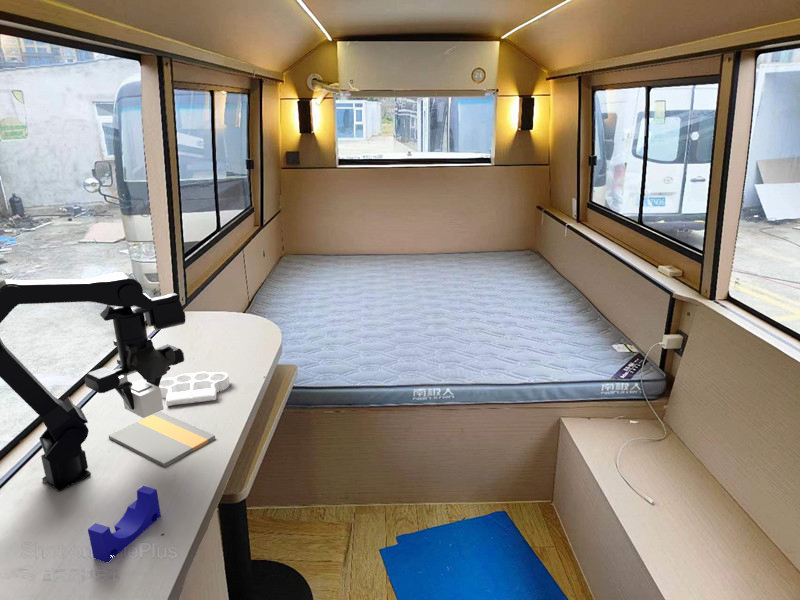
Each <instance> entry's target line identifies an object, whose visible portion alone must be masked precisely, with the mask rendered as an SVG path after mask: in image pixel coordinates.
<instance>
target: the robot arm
mask: <svg viewBox="0 0 800 600" xmlns="http://www.w3.org/2000/svg"><path fill="white" fill-rule="evenodd" d="M85 302H86V303H88V302H89V303H98V304H102V305H106V307H105V309H103V311H101V312H100V314H99V316H100V317H101V318H102V320H104V321H107V322H108V321H112V323H113V328H114V333H115V334H114V335H115V339H114V340H112V341H113V346H116V347H117V352H118V357H119V358H116V363H117V365H119V366H120V367H119V368H117V369H113V370H111V369H109V368H107V367H100V368H98V369H95V370H92V371H90V372H87V373H86V375H85V377H84V382H85V387H86V388H89V389H90V390H93V391H95V392H96V393H98V394H105V393H107V392H110V391H113V390H116V392H117V393H118V395H120V397H121V398H122V400H124V401H125V402H126V404H127V405H128V406H129V408H130V409H132V410H133V409H134V401H133V396H132V392H131V387H132V384H133V382H131V381H129V380H128V376H129V375H132V374H134V373H135V374H136V373H138V375H140V376H141V377H142V378H143V380H144V381H146V382H148V383H151V384H153V385H155V386H157V387H159V384H160V381H161V379H163V376H165V375H167V373H168V371H170V370H171V367H172V366H175V365H178V364H181V363H183V362H185V355H184V352H183V350H182V349H181V348H179V347H177V346H173V345H170V344H165V345H162V346H159V347H157V348H155V346H154V343H153V341H152V338H149V337H148V331H147V326H148V327H153V329H154V330H155V331H160V330H163V329H165V330H166V329H168V328H173V327H178V326H182V325H184V324H186V313H185V310H184V308H183V305H182V303H181V301H180V296H179V294H177V293H176V292H172V293H168V294H166V295H161V296H154V297H150V296H149V295H148V294H147V293H145V292H144V288H143V286H142V284H141V283H140V282H139V281H138V280H137V279H135V278H134V277H133V276H132V275H130V274H129V273H127V272H122V271H121V272H120V271H118V272H112V273H107V274H101V275H98V276H94V277H91V278H85V279H84V278H83V279H44V280H43V279H35V280H34V279H32V280H31V279H29V280H28V279H26V280H25V279H24V280H23V279H22V280H18V279H17V280H16V279H12V278H8V279H3V280H2V281H0V324H1V323H2V322H3V321H4V320H5V318H7V316H8V315H9V314H10V313H11V312H12V311H13V310H14V309H15V308H17V306H19V305H32V304H33V305H34V304H37V305H38V304H56V303H57V304H58V303H59V304H63V303H85ZM146 324H147V326H146ZM0 379H2V380H3V382H4V383H6V384H7V385H8V386H9V387H10V388H11V389H12V391H14V392H15V393H16V394H17V395H18V396H19V398H21V399H22V400H23V401H24V402H25V403H26V404H27V405H28V406H29V407H30V408H31V409H32V410H33V411H34V412H35V413H36V414H37V415H38V416H39V418H40V419H41V421H42V422H43V424H44V426H45V427H46V429H45V430H44V432H43V433H42V434H41V436H40V437H39V442H40V444H41V448H42V450H43V452H44V454H41V456H40V457H41V462H42V466H43V470H44V475H45V476H44V477H42V478H41V479H42V481H43V482H44V483H46V484H47V485H48V486H50V487H52V488H53V489H55V490H56V491H58V492H60V491H62V490H65V489H67V488H68V487H70V486H72V485H74V484H76V483H78V482H80V481H82V480H83V479H86V478H88V477H90V476H91V475H92V473H91V471H90V470H88V469H89V464H88V461H87V455H86V451H85V450H83V448H82V444H83V443H84V442H85V441H86V440H87V438H88V435H89V432H90V431H89V427H88V426H87V424H88V423H89V421H88V419H87V417H86V415H85V414H84V412H83V410H82V408H80V407H78V406H76V405H75V404H74V402H73V401H72V399H71V398H70V396H68V397H66V398H65V399H64V400H61V399H59V398H57V397H56V396H54V395H53V394H52V393H51V392H50V391H49V389H48V388H46V386H44V385H43V383H41V382H40V380H39V379H38V378H37V377H36V376H35V375H34V374H32V372H31V371H30V370H29V369H28V368H27V367H26V366H25V365H24V364H23V363H22V362H21V361H20V360H19V359H18V358H17V357H16V355H15V354H13V353H12V351H10V349H9V348H8V347H6V345H5V343H4V342H3V340H2V339H1V338H0ZM124 401H123V402H124Z"/></svg>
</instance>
